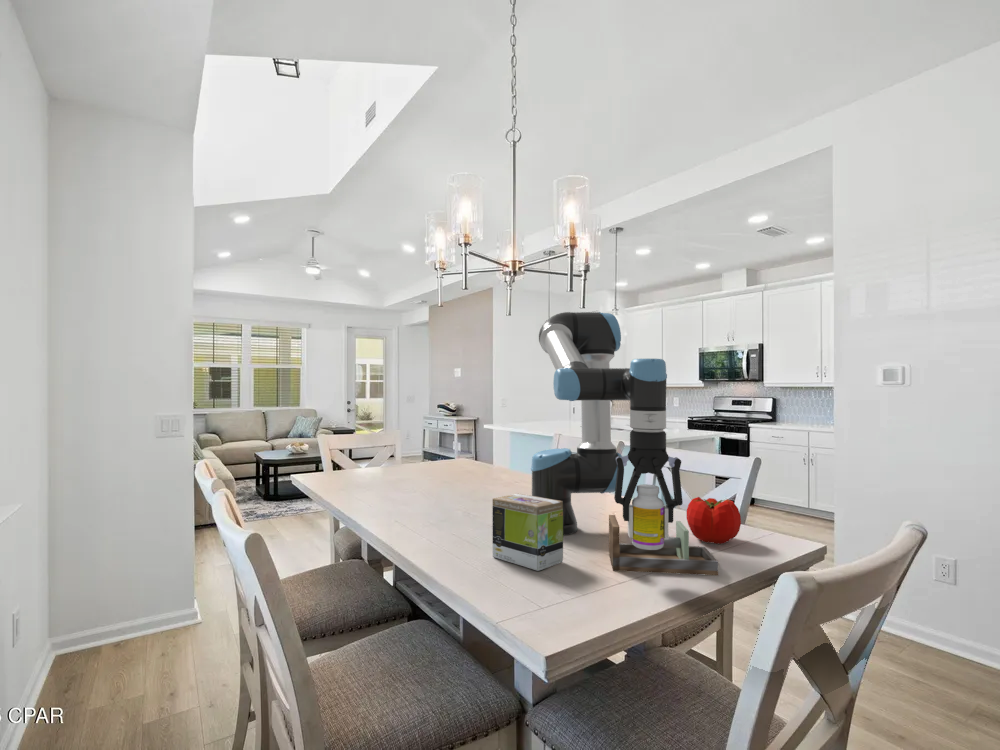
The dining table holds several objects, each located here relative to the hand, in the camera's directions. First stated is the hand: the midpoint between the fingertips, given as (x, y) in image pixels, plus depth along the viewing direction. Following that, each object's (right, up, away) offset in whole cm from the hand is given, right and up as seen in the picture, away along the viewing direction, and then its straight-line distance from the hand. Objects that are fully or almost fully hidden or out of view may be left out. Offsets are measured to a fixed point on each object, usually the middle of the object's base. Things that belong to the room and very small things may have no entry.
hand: (647, 536), depth 112 cm
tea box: (-25, -10, +14) cm, 31 cm away
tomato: (+26, -11, +30) cm, 41 cm away
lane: (+6, -10, +11) cm, 16 cm away
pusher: (+9, -9, +10) cm, 16 cm away
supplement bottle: (0, -2, 0) cm, 2 cm away
